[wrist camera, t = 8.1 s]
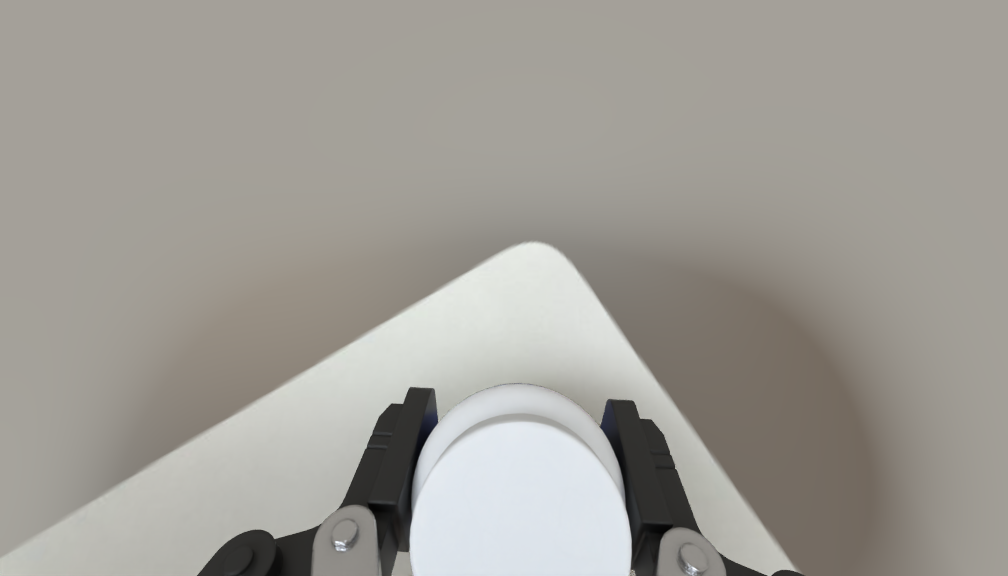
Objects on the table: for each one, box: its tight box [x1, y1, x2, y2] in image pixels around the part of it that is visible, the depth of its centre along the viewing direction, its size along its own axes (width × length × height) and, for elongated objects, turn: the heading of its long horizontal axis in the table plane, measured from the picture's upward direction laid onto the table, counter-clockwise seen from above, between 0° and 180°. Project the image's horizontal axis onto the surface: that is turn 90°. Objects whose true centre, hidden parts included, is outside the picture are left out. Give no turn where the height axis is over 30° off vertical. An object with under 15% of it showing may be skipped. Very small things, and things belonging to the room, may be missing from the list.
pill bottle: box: [410, 383, 632, 576], centre depth 11 cm, size 5×5×10 cm
